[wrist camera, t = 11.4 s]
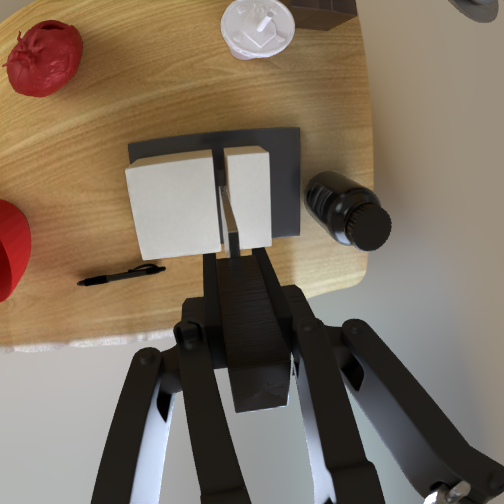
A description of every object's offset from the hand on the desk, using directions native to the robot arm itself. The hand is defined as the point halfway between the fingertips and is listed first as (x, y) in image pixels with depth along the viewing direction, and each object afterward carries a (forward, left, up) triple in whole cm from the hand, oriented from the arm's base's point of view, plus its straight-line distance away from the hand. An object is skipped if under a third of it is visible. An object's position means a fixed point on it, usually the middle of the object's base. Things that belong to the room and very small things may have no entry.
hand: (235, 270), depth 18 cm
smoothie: (-4, -17, -20) cm, 27 cm away
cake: (+5, 0, -19) cm, 20 cm away
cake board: (0, 0, -19) cm, 19 cm away
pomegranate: (+19, -20, -20) cm, 34 cm away
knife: (0, 0, -9) cm, 9 cm away
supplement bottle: (-14, +2, -20) cm, 24 cm away
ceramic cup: (+33, +1, -20) cm, 39 cm away
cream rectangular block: (-3, 0, -18) cm, 19 cm away
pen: (+15, +10, -19) cm, 27 cm away
